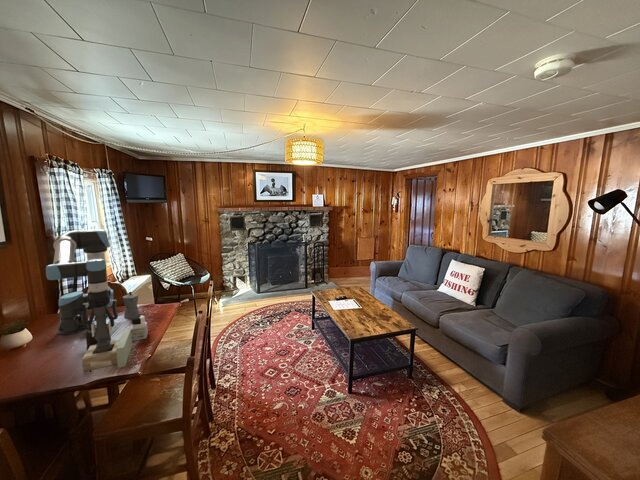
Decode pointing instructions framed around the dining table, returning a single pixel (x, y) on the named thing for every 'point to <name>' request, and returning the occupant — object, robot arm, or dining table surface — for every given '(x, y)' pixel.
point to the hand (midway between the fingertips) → (102, 334)
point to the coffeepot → (131, 305)
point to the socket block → (99, 357)
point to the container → (139, 328)
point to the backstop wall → (124, 348)
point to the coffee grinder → (89, 332)
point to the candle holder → (101, 330)
